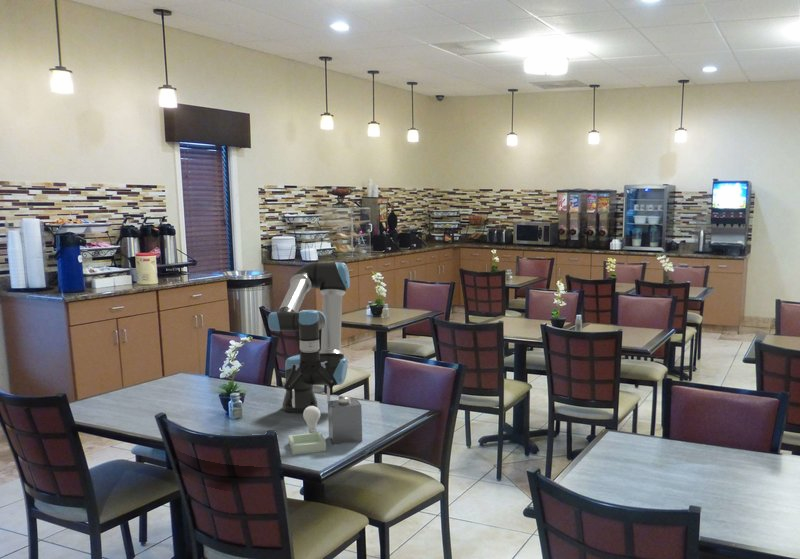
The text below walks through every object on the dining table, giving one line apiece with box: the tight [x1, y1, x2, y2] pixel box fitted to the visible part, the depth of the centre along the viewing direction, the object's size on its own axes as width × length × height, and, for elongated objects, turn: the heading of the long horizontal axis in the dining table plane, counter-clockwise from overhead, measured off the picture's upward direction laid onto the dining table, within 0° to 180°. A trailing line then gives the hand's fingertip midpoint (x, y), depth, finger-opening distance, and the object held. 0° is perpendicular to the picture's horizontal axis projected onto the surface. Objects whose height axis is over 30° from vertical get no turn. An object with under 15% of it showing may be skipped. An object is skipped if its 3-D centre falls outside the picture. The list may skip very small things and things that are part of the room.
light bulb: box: [302, 406, 321, 433], centre depth 264 cm, size 7×7×11 cm
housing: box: [327, 395, 363, 446], centre depth 258 cm, size 9×11×16 cm
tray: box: [288, 431, 327, 455], centre depth 250 cm, size 12×12×3 cm
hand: (311, 405), depth 263 cm, fingers open, 13 cm apart
